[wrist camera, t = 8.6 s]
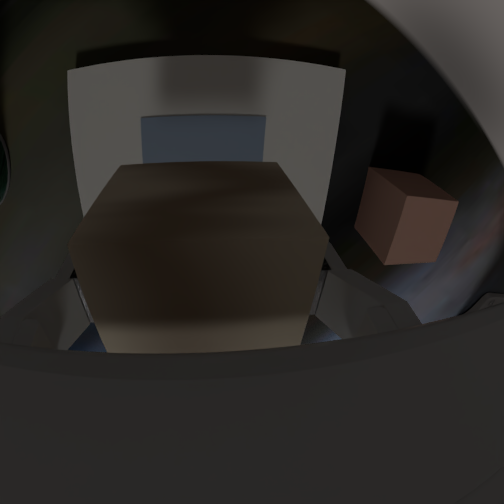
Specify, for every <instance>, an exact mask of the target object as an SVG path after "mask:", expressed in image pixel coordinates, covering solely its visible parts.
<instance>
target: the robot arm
mask: <svg viewBox="0 0 504 504" xmlns="http://www.w3.org/2000/svg"><path fill="white" fill-rule="evenodd" d="M311 314H315V316H317V317H318V318H319V319H320V320H321V321H322V322H323V323H325V324H326V325H327V326H328V327H329V328H330V329H331V330H332V331H334V332H335V333H336V334H337V335H338V336H339V337H340V338H342V339H341V340H334V341H327V342H320V343H312V344H304V345H295V346H286V347H276V348H266V349H254V350H240V351H224V352H203V353H106V352H86V351H71V350H68V349H69V347H70V346H71V345H72V344H73V343H74V342H75V340H76V339H77V338H78V337H79V336H80V335H81V334H82V332H83V331H84V330H85V329H86V328H87V327H88V326H89V324H90V322H94V321H93V318H92V316H91V313H90V311H89V308H88V305H87V303H86V300H85V297H84V295H83V292H82V289H81V286H80V284H79V281H78V278H77V275H76V272H75V269H74V266H73V262H72V259H71V256H70V253H68V255H67V257H66V259H65V260H64V262H63V264H62V266H61V268H60V270H59V272H58V274H57V276H56V278H55V279H50V280H49V281H47V282H46V283H45V284H43V285H42V286H41V287H39V288H38V289H36V290H35V291H34V292H32V293H31V294H30V295H28V296H27V297H26V298H24V299H23V300H22V301H20V302H19V303H18V304H16V305H15V306H14V307H13V308H11V309H10V310H9V311H8V312H6V313H5V314H4V315H2V317H1V319H0V504H504V294H499V293H486V294H485V295H484V296H483V297H482V298H481V299H480V300H479V301H478V302H477V303H476V304H475V305H474V306H473V307H472V308H471V309H470V310H469V311H467V312H466V313H465V314H462V315H458V316H454V317H450V318H446V319H442V320H438V321H434V322H430V323H426V324H422V323H421V322H420V320H419V319H418V317H417V316H416V314H415V313H414V311H413V310H412V308H411V307H410V305H409V304H408V303H407V301H405V300H403V299H402V298H400V297H398V296H397V295H395V294H393V293H391V292H390V291H388V290H386V289H385V288H383V287H381V286H379V285H378V284H376V283H374V282H373V281H371V280H369V279H367V278H366V277H364V276H362V275H360V274H359V273H357V272H355V271H353V270H352V269H347V268H346V267H345V265H344V264H343V262H342V260H341V259H340V257H339V256H338V254H337V253H336V251H335V250H334V248H333V246H332V245H331V243H329V242H328V244H327V249H326V253H325V257H324V261H323V265H322V269H321V272H320V276H319V280H318V284H317V288H316V291H315V295H314V299H313V302H312V306H311V309H310V313H309V315H311Z"/></svg>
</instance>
